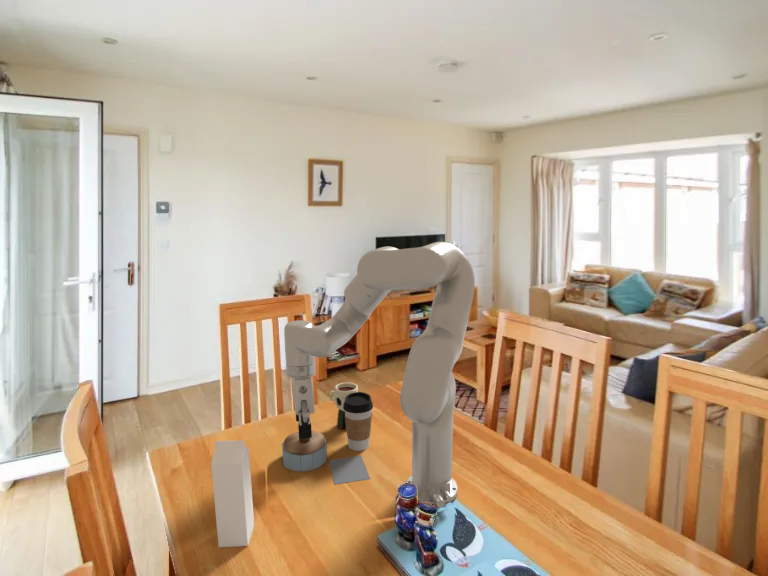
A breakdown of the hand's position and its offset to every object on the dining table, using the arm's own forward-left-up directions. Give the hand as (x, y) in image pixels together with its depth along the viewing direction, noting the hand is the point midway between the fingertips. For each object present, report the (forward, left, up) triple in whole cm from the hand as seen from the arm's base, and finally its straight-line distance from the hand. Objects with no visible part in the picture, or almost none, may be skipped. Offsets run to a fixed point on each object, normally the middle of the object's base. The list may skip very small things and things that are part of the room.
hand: (303, 429), depth 124 cm
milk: (-25, +16, -10) cm, 31 cm away
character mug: (+16, -14, -10) cm, 24 cm away
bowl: (0, 0, -9) cm, 9 cm away
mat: (-8, -10, -9) cm, 16 cm away
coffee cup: (+3, -16, -10) cm, 18 cm away
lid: (0, 0, -4) cm, 4 cm away
